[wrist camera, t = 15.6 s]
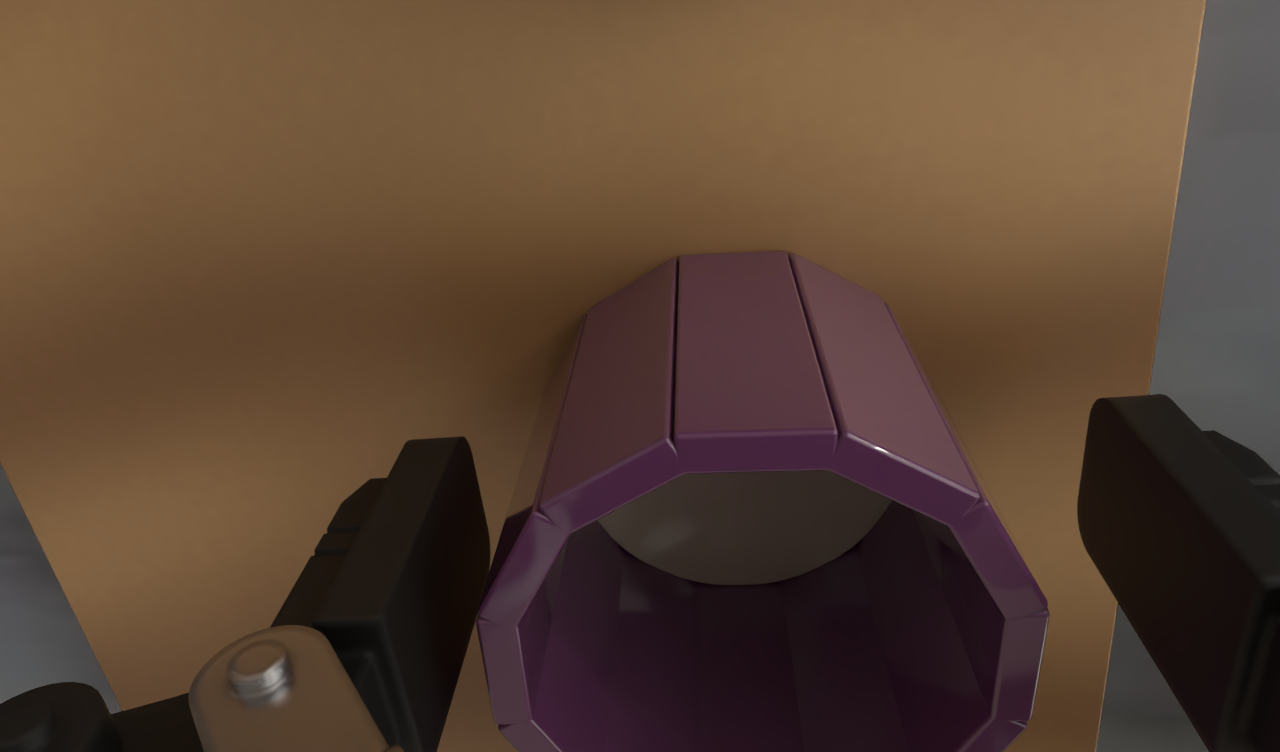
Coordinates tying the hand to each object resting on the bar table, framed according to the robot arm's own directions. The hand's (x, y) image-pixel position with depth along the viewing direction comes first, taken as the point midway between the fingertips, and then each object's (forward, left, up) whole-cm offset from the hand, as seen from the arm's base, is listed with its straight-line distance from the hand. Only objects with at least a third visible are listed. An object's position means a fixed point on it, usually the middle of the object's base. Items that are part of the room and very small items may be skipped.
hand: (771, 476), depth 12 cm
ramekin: (0, +1, -2) cm, 2 cm away
